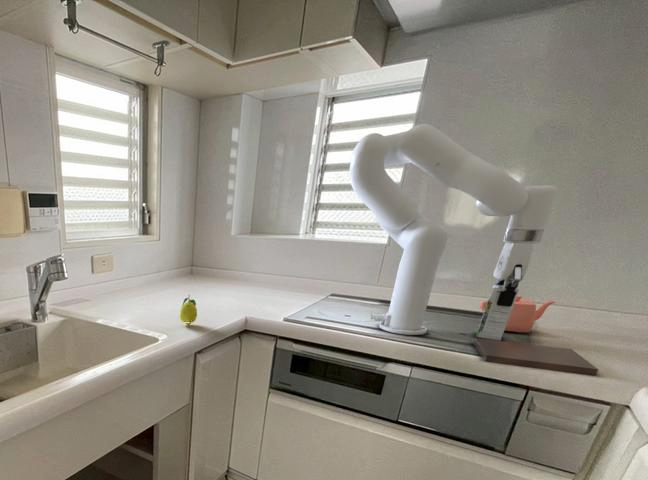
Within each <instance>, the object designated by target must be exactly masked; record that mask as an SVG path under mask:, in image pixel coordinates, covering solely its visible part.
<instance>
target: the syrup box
mask: <svg viewBox="0 0 648 480" xmlns="http://www.w3.org/2000/svg"><path fill="white" fill-rule="evenodd" d="M501 291H503V286H501V285H493V286H492V289H491V291H490V294H489V297H488V299H487V300H488V302H487V305H486V307H485V310H484V312H483V313H482V316H481V320H480V323H479V325H478V328H477V332H476V336H475V338H479V339H488V340H497V341H502V338H503V335H504V333H505V331H504V330H505V328H506V325H507V322H508V319H509V317H510V314H511V311H512V309H513V306H514V303H515V300H516V297H517V295H519V291H520V289H519V287H518V288H517V291H516V295H515V297H514V300H513V303H512V306H510V307H509V306H498V305H497V301H498V298H499V295H500V292H501Z"/></svg>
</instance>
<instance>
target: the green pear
mask: <svg viewBox="0 0 648 480" xmlns="http://www.w3.org/2000/svg"><path fill="white" fill-rule="evenodd" d="M190 296H191V295H190V294H188V297H186V298H184V300H183V303H182V306H181V308H180V311H179V318H180V319H179V320H181V322H182V321H183V322H182V323H184V322H192V323H194V322H195V321H196V320H197V317H198V309H197V306H196V305H197V303H196V300H195V299H190V298H189V297H190ZM186 301H187V302H186ZM192 323H185V324H186V325H187V326H190V325H191V324H192Z"/></svg>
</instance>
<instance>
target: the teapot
mask: <svg viewBox="0 0 648 480" xmlns="http://www.w3.org/2000/svg"><path fill="white" fill-rule="evenodd" d="M487 302H488V299H487V300H481V301H480V303H479V307H480V309H481V311H482V312H483V313H484V310H485V307H486V305H487ZM557 302H558V300H557V301H556V300H548V301H545V302H543V303H542V304H541V305H540V306H539V308H537V304H536V303H534V301H531V300H528V299H525V298H523V296H522V295H519V294H518V295H517V297H516V300H515V303H514V306H513V309H512V311H511V314H510V317H509V319H508V322H507V325H506V328H505V330H504V332H513V333H520V334H521V333H529V332H530V331H531V330H532V329H533V326H534V324H535V322H536V321H538V320H539V319H540V318H542V316H543V315H544V313H545V311H546V310H547V308H548V307H549V306H551V305H553V304H555V303H557Z"/></svg>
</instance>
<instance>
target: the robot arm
mask: <svg viewBox="0 0 648 480" xmlns="http://www.w3.org/2000/svg"><path fill="white" fill-rule="evenodd" d="M350 159H351V161H350V164H349V181H350V185H351V188H352V190H353V192H354V193H355V195H356V196H357V197H358V198H359V200H360V201H361V202H362V203H363V204H364V205H365V206H366V207H367V208H368V209H369V210H370V211H371V212H372V214H373V215H374V219H375V222H376V223H377V224H378V225H379V227H380V228H381V229H382V230H384V232H385V233H387V235H388V236H389V237H390V238H391V239H392V240H394V242H396V243H397V245H399V246H400V247H401V248H402V250H403V252H402V255H401V258H400V261H399V265H398V268H397V271H396V272H397V273H396V276H395V277H396V278H395V282H394V285H393V290H392V295H391V299H390V304H389V308H388V311H386V313H382V314H380V313H379V314H378V313H373V312H372V313H370V318H369V319H370V320H373V321H375V322H380V323H379V328H380V329H381V330H383V331H386V332H388V333H393V334H398V335H404V336H405V335H407V336H421V335H425V334H427V331H428V328H427V327H426V326H424V325H423V322H424V319H425V315H426V311H427V309H428V304H429V300H430V296H431V293H432V290H433V285H434V282H435V277H436V274H437V271H438V267H439V265H440V261H441V259H442V256H443V253H444V251H445V248H446V246H447V241H448V232H447V230H446V228H445V227H444V225H442V224H441V223H439V222H438V221H435V220H429V219H428V218H426V217H425V215H424V214H423V213H421V212H420V211H419V209H418V205H417V203H416V201H415V200H414V198H412V197H411V196H410V195H409V194H407V192H406V191H404V190H403V189H402V187H400V186H399V185H398V184H397V183H396V182H395V181H394V179H393V178H392V177H391V176H390V175H389V174H388V172H387V171H386V169H385V168H390V167H395V166H401V165H405V164H411V163H412V164H413V165H414V166H416V167H418V168H419V169H420V170H422V171H423V172H424V173H426V174H427V175H429V176H430V177H431V178H433V179H434V181H436V182H438V183H439V184H441V185H443V186H445V187H448V188H451V189H454V190H458V191H460V192H463V193H464V194H466V195H468V196H471V198H473V199H475V201H476V202H475V207H476V209H477V211H478V212H479V213H480V214H481V215H482V216H483V215H484V216H486V217H509V220H508V224H507V227H506V230H505V233H504V236H503V240H502V242H503V243H504V245H503V248H502V250H501V252H500V255H499V257H498V260H497V263H496V265H495V268H494V271H493V273H492V274H493V275H492V276H493V277H494V278H495V279H496V282H495V285H501V286H503V291H501V292H500V295H499V298H498V301H497V305H498V306H509V307H510V306H512V303H513V300H514V297H515V295H516V291H517V288H519V283H520V282H522V281H523V280H524V278H525V277H526V274H527V271H528V268H529V265H530V263H531V259H532V255H533V253H534V248H535V245H536V244H540V243H541V240H542V238H543V235H544V232H545V229H546V226H547V223H548V222H549V221H548V220H549V218H550V215H551V213H552V209H553V207H554V204H555V201H556V198H557V196H558V192H559V189H558V188H559V187H557V186H556V185H551V184H550V185H549V184H548V185H547V184H544V185H543V184H542V185H541V184H540V185H539V184H537V185H527V186H524V185H523V184H522V183H520V182H519V181H518V180H516V179H515V178H514V177H512V176H511V175H510V174H508V173H507V172H505V171H504V170H502V168H499V167H497V166H496V165H494V164H492V163H490V162H488V161H486V160H484V159H483V158H481V157H479V156H478V155H475V154H473V153H472V152H470V151H468V150H467V149H466V148H464V147H463V146H461V145H460V144H459V143H457V142H456V141H454V140H453V139H452V138H451V137H450V136H448V135H447V134H445V133H444V132H443V131H441V130H440V129H439V128H437V127H435V126H433V125H432V124H429V123H419V124H417V125H414V126H412V127H410V129H408V130H406V131H402V132H398V133H397V132H396V133H393V134H387V135H383V134H381V133H377V132H373V133H369V134H366V135H364V136H363V137H361V139H360V140H359V141H358V142H357V144H356V145H355V147H354V148H353V150H352V152H351V158H350Z"/></svg>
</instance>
